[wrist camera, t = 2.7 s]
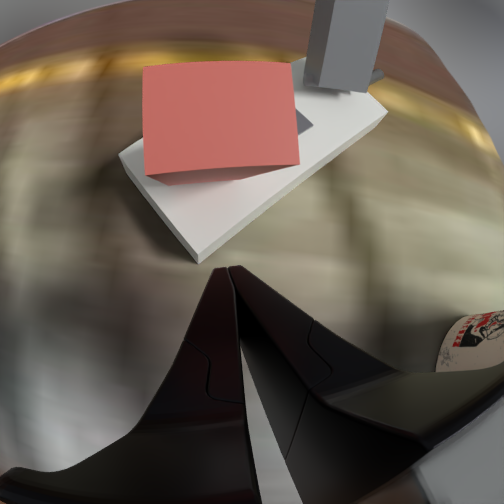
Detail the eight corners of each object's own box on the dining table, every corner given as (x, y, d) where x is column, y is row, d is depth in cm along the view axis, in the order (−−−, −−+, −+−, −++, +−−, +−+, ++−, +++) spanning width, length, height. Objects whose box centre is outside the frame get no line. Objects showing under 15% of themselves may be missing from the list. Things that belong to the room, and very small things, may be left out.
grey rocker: (368, 99, 19) (396, -10, 11) (311, 92, 18) (334, -31, 11) (350, 85, 21) (373, -14, 13) (297, 79, 20) (315, -31, 12)
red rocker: (246, 179, 17) (313, 164, 8) (162, 186, 16) (129, 177, 7) (242, 129, 16) (303, 64, 7) (159, 135, 15) (128, 69, 6)
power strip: (198, 264, 18) (197, 253, 15) (126, 173, 18) (117, 152, 16) (401, 107, 25) (415, 92, 22) (345, 57, 25) (355, 40, 23)
